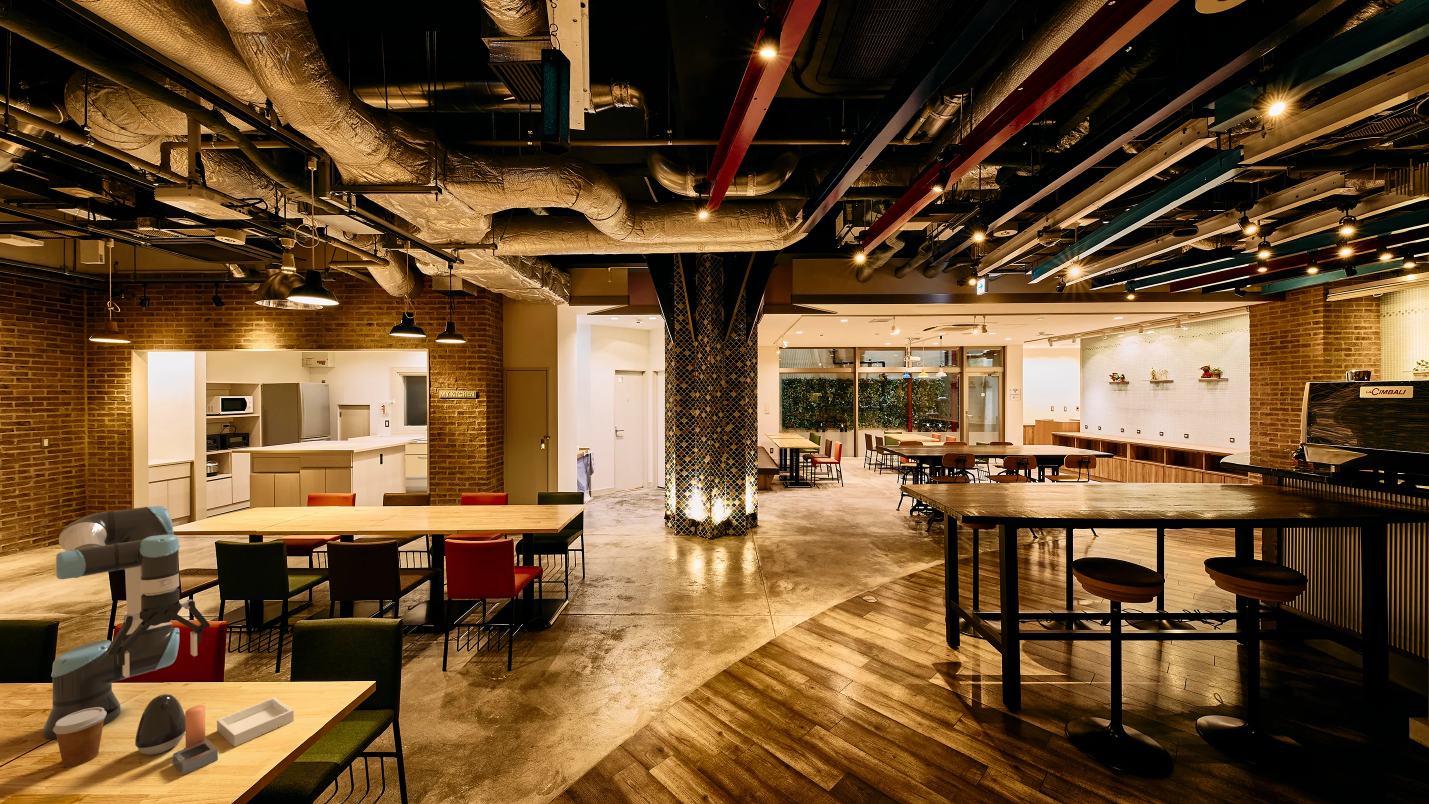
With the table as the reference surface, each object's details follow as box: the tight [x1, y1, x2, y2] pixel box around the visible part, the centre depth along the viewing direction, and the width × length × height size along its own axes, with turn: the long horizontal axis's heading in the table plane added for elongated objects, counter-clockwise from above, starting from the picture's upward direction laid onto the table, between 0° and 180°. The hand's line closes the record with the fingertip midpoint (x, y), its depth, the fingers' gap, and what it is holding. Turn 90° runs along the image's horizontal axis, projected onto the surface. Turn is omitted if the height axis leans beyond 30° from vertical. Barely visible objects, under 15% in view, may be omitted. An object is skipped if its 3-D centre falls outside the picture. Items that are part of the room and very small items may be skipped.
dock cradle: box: [216, 696, 295, 748], centre depth 160 cm, size 14×14×3 cm
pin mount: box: [172, 738, 219, 776], centre depth 144 cm, size 8×7×3 cm
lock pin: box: [184, 704, 206, 748], centre depth 149 cm, size 4×4×11 cm
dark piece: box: [134, 693, 185, 756], centre depth 149 cm, size 10×10×15 cm
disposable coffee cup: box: [53, 707, 107, 768], centre depth 145 cm, size 10×10×12 cm
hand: (161, 664), depth 149 cm, fingers open, 13 cm apart
